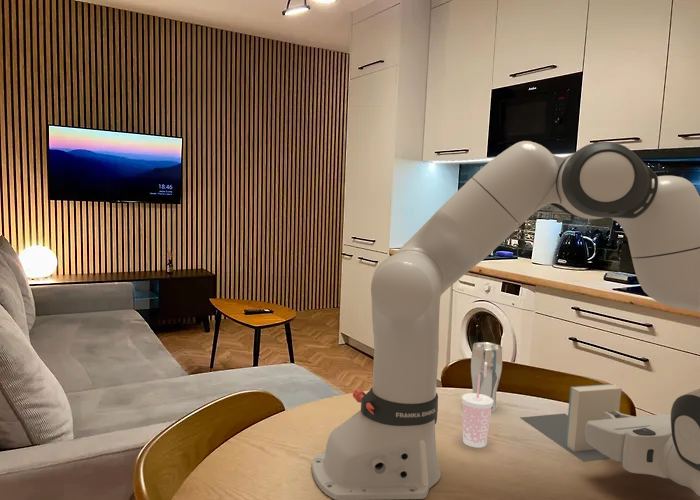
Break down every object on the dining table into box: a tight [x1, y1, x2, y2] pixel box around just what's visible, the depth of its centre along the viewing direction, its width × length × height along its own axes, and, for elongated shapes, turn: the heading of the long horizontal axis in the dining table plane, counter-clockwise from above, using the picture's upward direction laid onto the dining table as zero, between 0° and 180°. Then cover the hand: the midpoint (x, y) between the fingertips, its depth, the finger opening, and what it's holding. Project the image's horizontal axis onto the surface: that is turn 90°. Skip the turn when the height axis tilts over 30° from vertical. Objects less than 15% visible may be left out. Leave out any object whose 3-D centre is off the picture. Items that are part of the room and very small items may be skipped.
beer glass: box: [470, 341, 503, 413], centre depth 120 cm, size 7×7×15 cm
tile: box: [565, 383, 622, 451], centre depth 102 cm, size 10×2×12 cm, turn 107°
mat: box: [519, 413, 611, 463], centre depth 108 cm, size 12×20×1 cm, turn 17°
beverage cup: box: [461, 374, 493, 448], centre depth 103 cm, size 6×6×14 cm
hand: (608, 415), depth 98 cm, fingers closed
